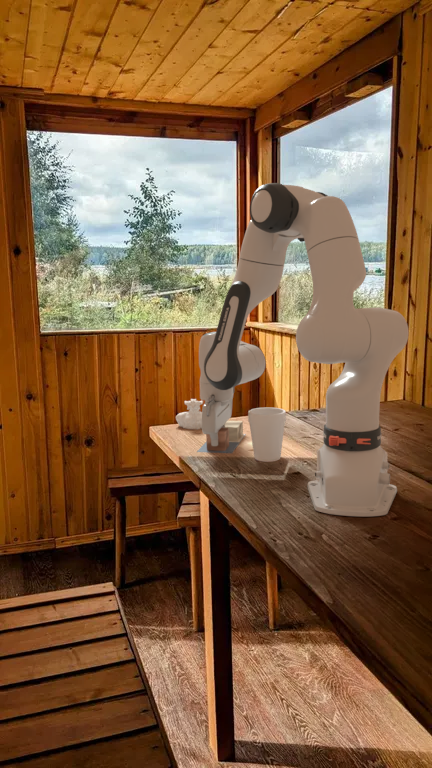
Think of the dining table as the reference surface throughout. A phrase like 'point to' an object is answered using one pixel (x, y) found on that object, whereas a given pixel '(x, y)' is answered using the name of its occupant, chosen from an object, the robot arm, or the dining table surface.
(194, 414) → the white figurine
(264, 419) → the foam cup
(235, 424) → the birch slab
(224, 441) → the terracotta block
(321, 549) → the dining table surface
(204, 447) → the board
